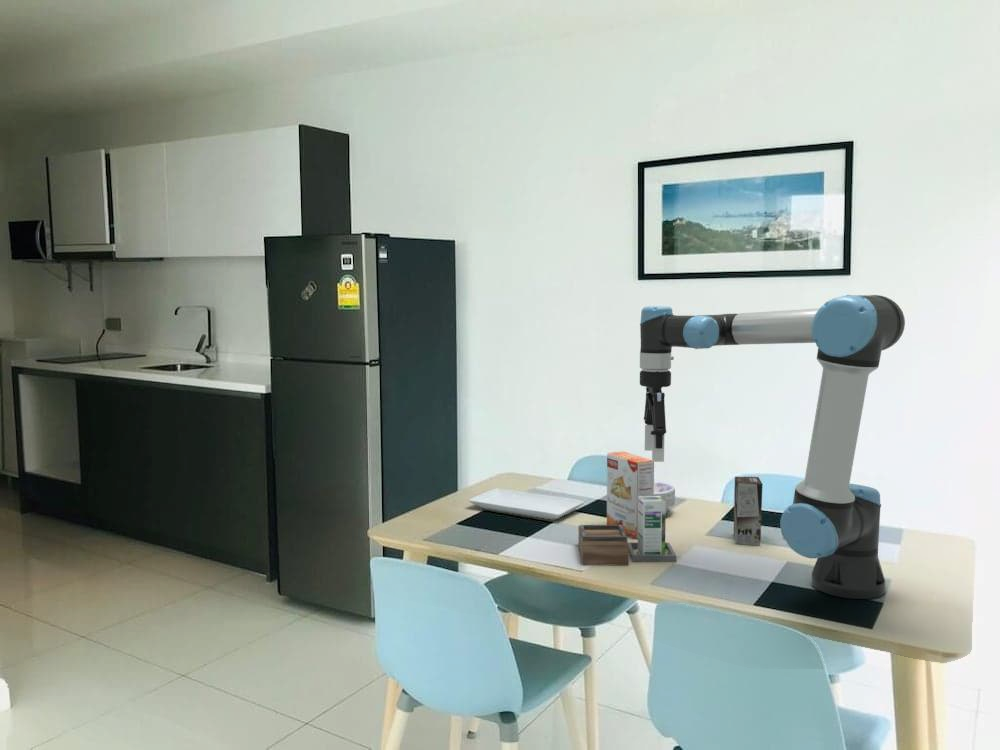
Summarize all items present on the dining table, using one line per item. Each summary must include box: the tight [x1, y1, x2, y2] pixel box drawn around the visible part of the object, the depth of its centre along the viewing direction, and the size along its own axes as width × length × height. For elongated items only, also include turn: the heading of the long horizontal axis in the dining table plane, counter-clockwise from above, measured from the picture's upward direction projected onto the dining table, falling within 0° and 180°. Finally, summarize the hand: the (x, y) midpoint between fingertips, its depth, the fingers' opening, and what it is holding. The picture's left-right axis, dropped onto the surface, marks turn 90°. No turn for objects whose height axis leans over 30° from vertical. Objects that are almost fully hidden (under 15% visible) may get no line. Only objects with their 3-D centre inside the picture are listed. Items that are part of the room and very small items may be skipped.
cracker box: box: [606, 451, 655, 540], centre depth 227 cm, size 14×6×21 cm, turn 27°
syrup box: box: [637, 496, 667, 555], centre depth 207 cm, size 6×6×14 cm
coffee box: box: [733, 476, 763, 546], centre depth 219 cm, size 9×6×16 cm
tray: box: [468, 487, 585, 521], centre depth 251 cm, size 17×32×4 cm, turn 57°
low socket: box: [628, 541, 677, 563], centre depth 208 cm, size 11×11×2 cm
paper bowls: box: [654, 481, 676, 513], centre depth 246 cm, size 15×15×8 cm
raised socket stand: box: [577, 524, 630, 566], centre depth 208 cm, size 16×11×6 cm
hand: (653, 455), depth 206 cm, fingers open, 13 cm apart
